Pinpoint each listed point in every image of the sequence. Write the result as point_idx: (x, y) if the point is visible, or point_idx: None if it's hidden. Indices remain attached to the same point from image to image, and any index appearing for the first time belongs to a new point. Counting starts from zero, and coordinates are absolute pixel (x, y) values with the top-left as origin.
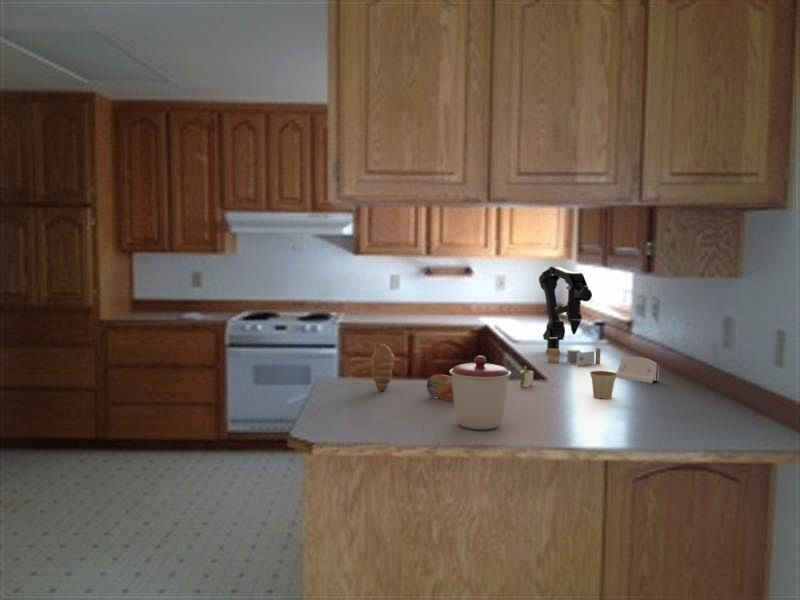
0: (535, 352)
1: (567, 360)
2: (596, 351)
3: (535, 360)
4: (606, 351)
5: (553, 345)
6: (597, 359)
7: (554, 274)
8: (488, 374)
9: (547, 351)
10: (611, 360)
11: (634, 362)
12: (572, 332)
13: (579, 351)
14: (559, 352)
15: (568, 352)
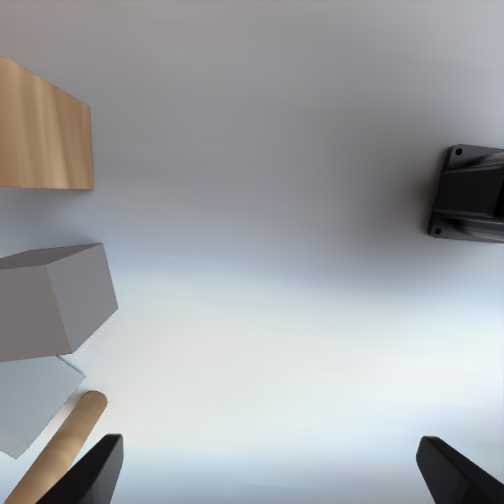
0: (475, 62)
1: (86, 246)
2: (30, 468)
3: (105, 5)
4: (486, 467)
5: (480, 192)
6: (64, 421)
7: None
8: None
9: (466, 153)
10: (222, 466)
11: None
12: (82, 458)
13: (8, 355)
14: (431, 233)
15: (13, 265)
